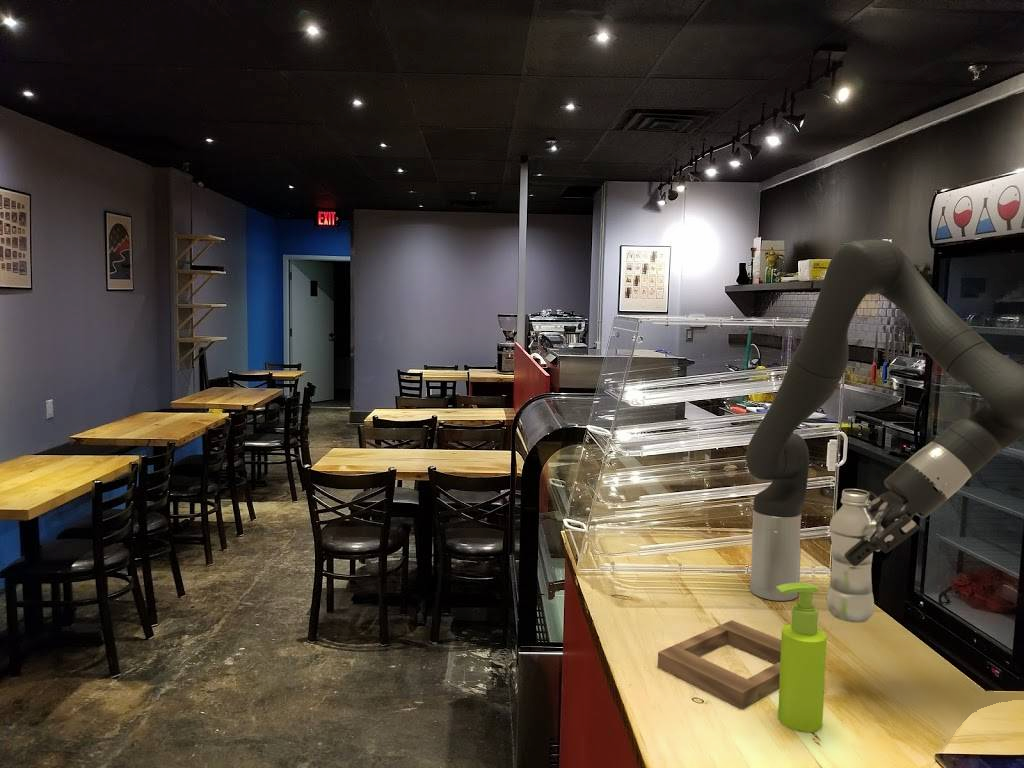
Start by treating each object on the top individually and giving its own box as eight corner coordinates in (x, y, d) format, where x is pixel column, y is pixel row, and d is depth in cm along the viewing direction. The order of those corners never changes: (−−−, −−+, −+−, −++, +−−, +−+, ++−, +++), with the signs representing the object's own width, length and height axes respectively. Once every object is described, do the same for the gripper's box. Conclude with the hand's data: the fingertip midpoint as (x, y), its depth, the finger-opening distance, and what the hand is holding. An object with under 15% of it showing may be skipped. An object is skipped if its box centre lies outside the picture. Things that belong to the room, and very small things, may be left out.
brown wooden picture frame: (731, 633, 131) (731, 620, 131) (814, 668, 118) (815, 653, 118) (657, 666, 119) (658, 652, 118) (742, 709, 106) (742, 693, 106)
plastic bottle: (878, 630, 108) (886, 498, 105) (830, 626, 109) (837, 496, 107) (866, 611, 114) (874, 487, 112) (820, 608, 115) (827, 485, 113)
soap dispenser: (764, 710, 106) (769, 577, 104) (809, 708, 107) (816, 576, 104) (782, 733, 100) (788, 594, 98) (830, 731, 101) (837, 592, 99)
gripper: (889, 451, 115) (808, 522, 118) (933, 472, 101) (840, 552, 103) (921, 484, 115) (840, 554, 118) (970, 510, 101) (877, 589, 103)
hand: (841, 553), depth 110 cm, fingers closed on plastic bottle, 6 cm apart
